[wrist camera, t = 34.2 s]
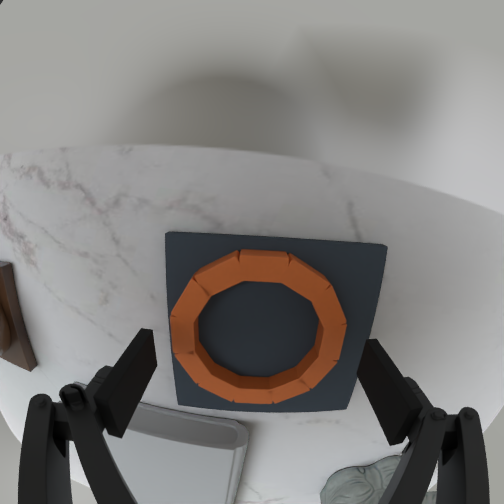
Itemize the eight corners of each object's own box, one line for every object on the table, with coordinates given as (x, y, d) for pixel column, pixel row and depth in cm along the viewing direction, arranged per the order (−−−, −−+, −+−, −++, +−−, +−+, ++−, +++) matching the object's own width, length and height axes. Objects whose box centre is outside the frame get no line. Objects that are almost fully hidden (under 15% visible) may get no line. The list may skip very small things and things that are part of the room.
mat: (168, 231, 18) (164, 233, 18) (383, 244, 18) (388, 246, 18) (179, 399, 22) (177, 405, 21) (344, 403, 22) (346, 409, 21)
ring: (174, 245, 18) (166, 250, 16) (350, 254, 18) (359, 261, 16) (182, 384, 20) (178, 396, 19) (323, 390, 20) (327, 403, 19)
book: (110, 499, 24) (57, 402, 18) (117, 483, 28) (74, 381, 22) (229, 526, 24) (248, 451, 19) (230, 507, 28) (249, 421, 22)
